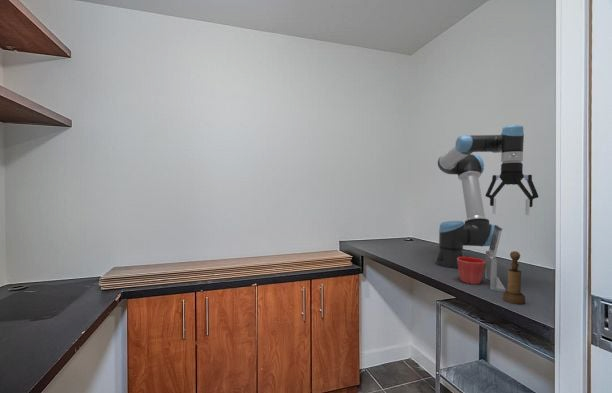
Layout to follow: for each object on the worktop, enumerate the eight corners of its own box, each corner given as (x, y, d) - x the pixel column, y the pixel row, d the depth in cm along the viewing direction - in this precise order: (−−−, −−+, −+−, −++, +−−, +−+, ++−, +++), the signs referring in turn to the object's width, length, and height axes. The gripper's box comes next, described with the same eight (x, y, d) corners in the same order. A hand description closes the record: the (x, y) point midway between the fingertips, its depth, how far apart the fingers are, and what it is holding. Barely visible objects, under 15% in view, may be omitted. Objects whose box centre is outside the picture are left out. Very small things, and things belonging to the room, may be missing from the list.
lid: (494, 224, 131) (499, 225, 131) (486, 255, 133) (491, 256, 132) (499, 227, 120) (504, 229, 119) (491, 261, 121) (496, 262, 120)
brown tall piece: (505, 302, 106) (507, 252, 105) (500, 296, 112) (501, 249, 111) (527, 305, 103) (529, 254, 103) (521, 298, 109) (522, 250, 109)
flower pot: (489, 286, 124) (489, 263, 123) (460, 284, 126) (461, 261, 126) (479, 278, 134) (480, 257, 134) (453, 277, 136) (454, 256, 136)
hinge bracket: (485, 277, 136) (485, 250, 136) (497, 279, 134) (498, 251, 133) (490, 290, 119) (491, 259, 118) (505, 292, 116) (506, 260, 116)
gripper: (480, 162, 127) (479, 213, 127) (549, 161, 117) (547, 216, 117) (478, 164, 134) (477, 212, 134) (543, 162, 124) (542, 214, 124)
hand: (510, 214), depth 126 cm, fingers open, 11 cm apart
